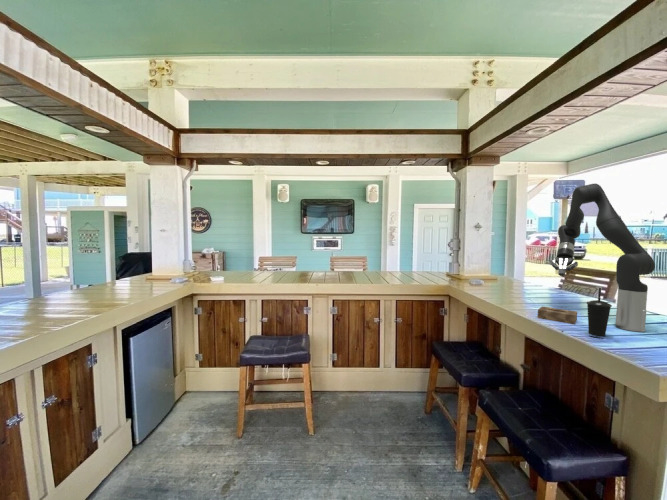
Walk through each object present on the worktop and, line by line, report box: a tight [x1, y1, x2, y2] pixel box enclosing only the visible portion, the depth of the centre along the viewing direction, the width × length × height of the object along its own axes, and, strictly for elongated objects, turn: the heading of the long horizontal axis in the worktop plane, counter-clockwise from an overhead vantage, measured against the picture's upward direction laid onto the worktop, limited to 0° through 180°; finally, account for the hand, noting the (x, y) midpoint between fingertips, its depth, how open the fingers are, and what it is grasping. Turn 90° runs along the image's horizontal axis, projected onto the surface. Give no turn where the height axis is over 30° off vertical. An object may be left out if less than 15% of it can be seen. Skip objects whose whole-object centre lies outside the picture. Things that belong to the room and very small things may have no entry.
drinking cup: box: [586, 287, 613, 340], centre depth 122 cm, size 8×8×20 cm
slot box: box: [537, 305, 578, 325], centre depth 144 cm, size 14×10×5 cm
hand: (561, 275), depth 164 cm, fingers closed
